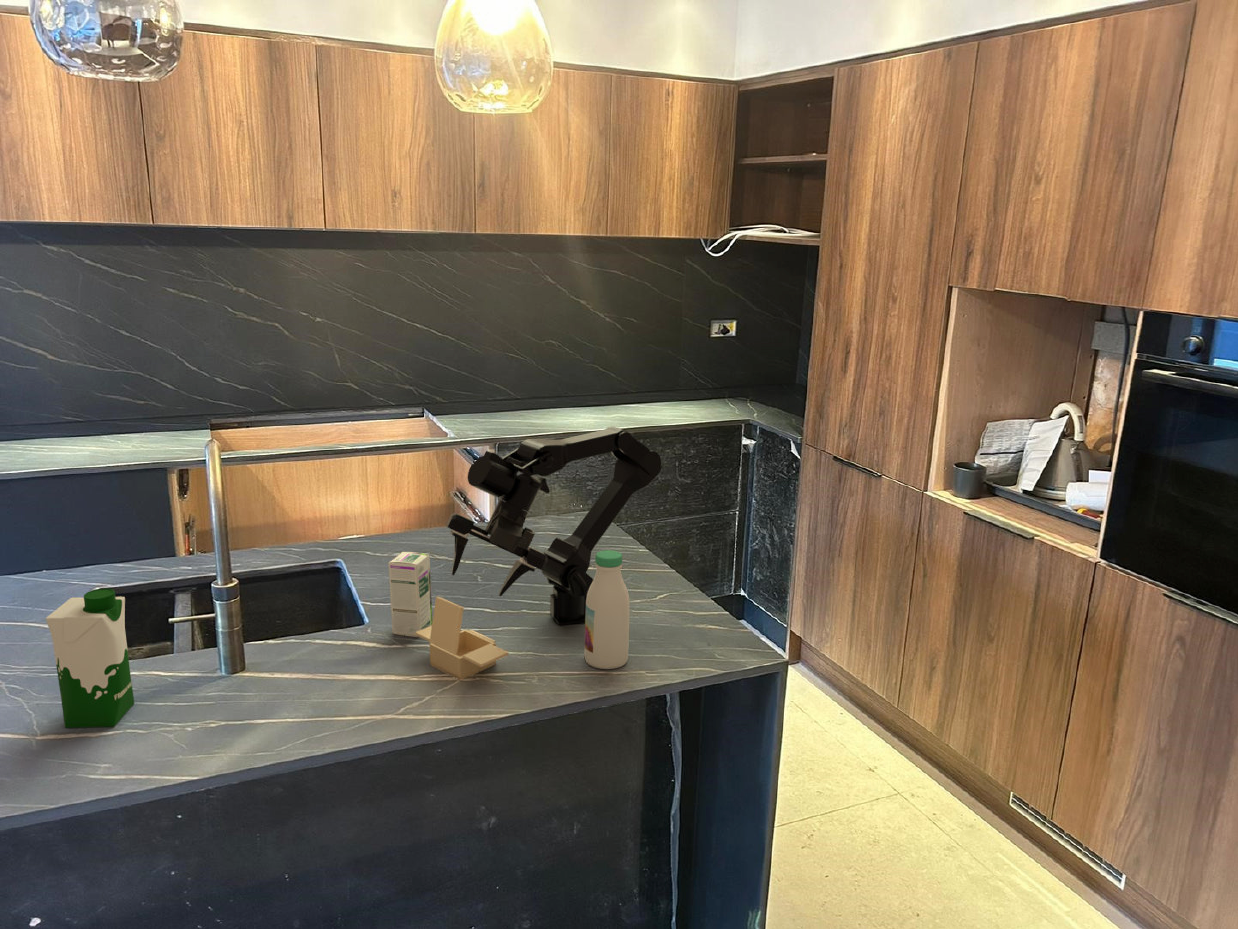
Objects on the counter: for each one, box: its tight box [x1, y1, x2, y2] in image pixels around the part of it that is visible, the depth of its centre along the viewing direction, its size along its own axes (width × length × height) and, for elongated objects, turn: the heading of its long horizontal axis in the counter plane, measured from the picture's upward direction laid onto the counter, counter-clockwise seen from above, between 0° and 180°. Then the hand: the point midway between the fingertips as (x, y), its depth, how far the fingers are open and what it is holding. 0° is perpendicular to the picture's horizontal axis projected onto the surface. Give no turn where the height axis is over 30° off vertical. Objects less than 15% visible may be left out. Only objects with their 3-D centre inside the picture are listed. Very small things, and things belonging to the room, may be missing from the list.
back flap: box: [428, 596, 465, 654], centre depth 152 cm, size 1×6×8 cm, turn 50°
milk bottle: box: [584, 549, 630, 670], centre depth 158 cm, size 8×8×20 cm
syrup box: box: [388, 551, 433, 638], centre depth 168 cm, size 6×6×14 cm
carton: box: [415, 625, 509, 681], centre depth 157 cm, size 9×17×4 cm, turn 50°
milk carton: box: [45, 588, 135, 729], centre depth 136 cm, size 9×9×20 cm
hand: (476, 585), depth 161 cm, fingers open, 9 cm apart
